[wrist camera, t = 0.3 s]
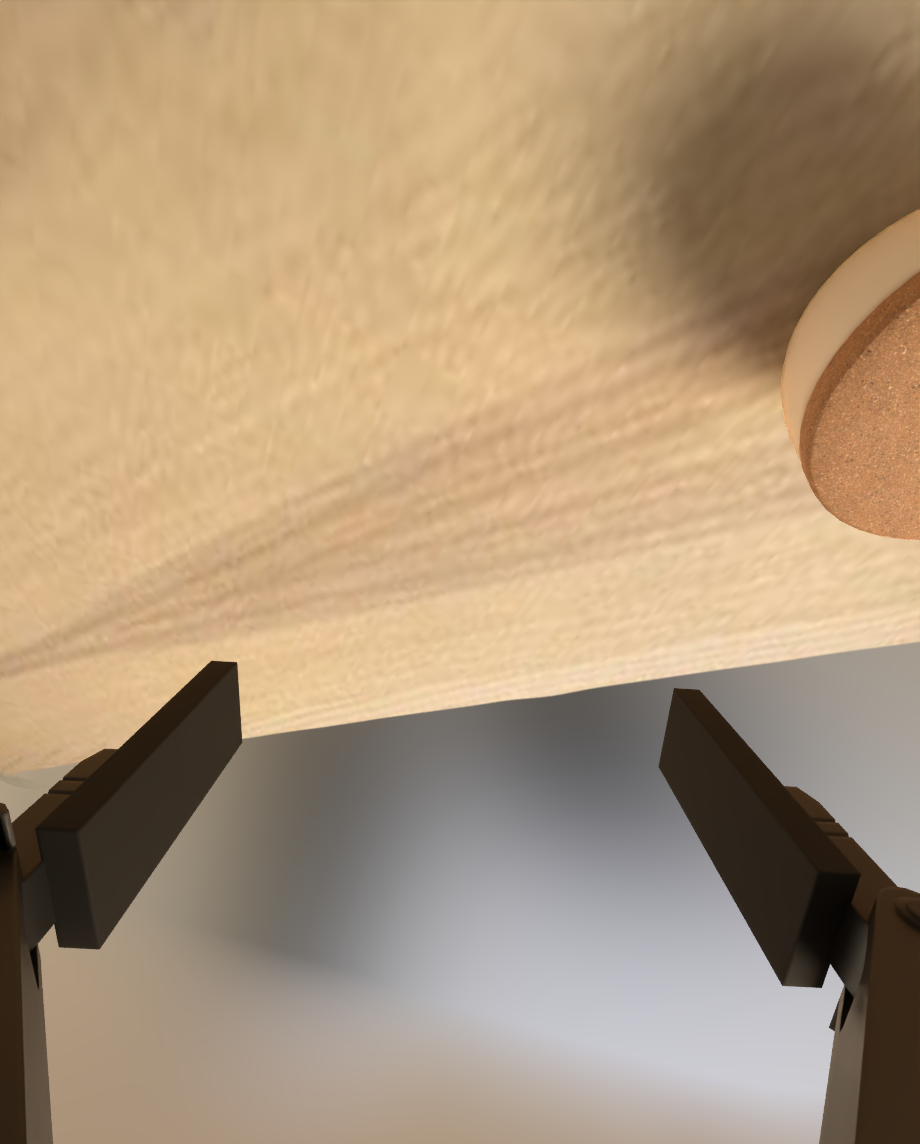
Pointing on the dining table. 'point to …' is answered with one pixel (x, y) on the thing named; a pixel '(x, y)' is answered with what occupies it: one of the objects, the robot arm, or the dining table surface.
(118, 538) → the dining table surface
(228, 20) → the dining table surface
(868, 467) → the trinket box
